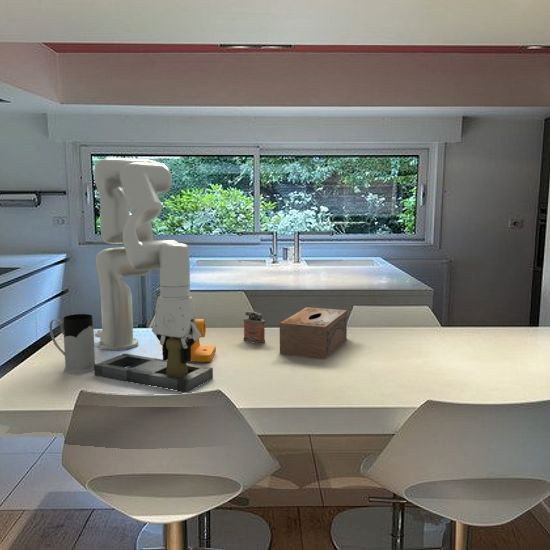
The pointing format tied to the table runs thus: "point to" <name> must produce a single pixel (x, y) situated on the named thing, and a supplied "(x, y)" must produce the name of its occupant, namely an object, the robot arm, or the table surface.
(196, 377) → the tray
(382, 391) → the table surface
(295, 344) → the tissue box cover
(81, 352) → the grey mug
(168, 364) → the olive tall tapered piece
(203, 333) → the bracket
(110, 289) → the robot arm
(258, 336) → the lighter
